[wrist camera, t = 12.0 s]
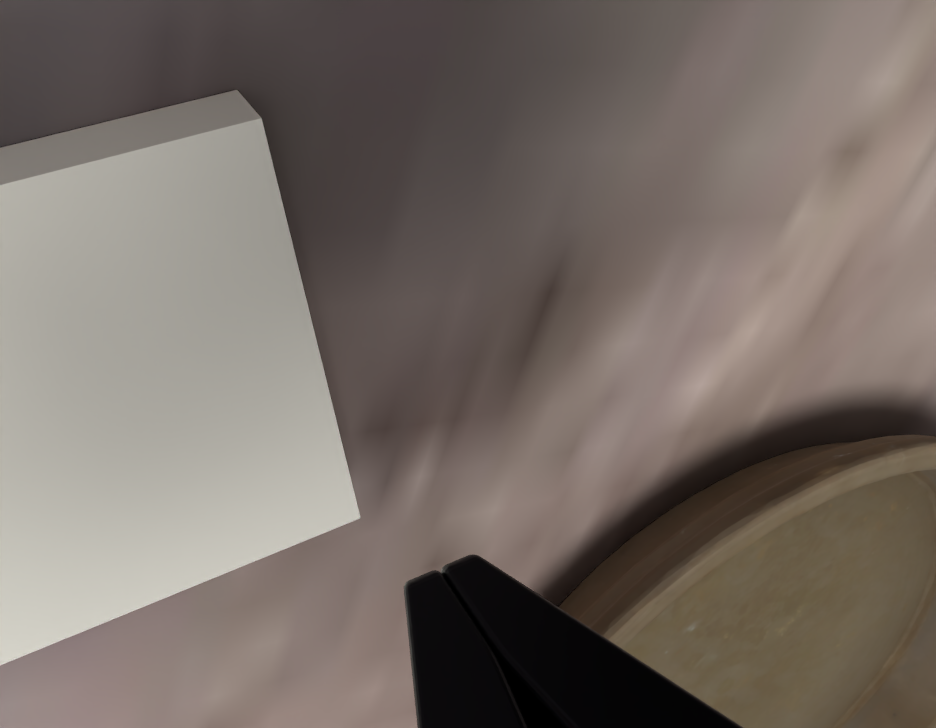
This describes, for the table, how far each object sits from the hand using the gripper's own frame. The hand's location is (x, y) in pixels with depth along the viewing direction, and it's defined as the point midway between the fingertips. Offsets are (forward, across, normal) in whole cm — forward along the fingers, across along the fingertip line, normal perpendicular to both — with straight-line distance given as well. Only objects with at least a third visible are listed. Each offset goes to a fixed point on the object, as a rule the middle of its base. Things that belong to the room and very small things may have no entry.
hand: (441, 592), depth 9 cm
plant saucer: (+13, -16, +30) cm, 36 cm away
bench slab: (+13, +4, +4) cm, 14 cm away
